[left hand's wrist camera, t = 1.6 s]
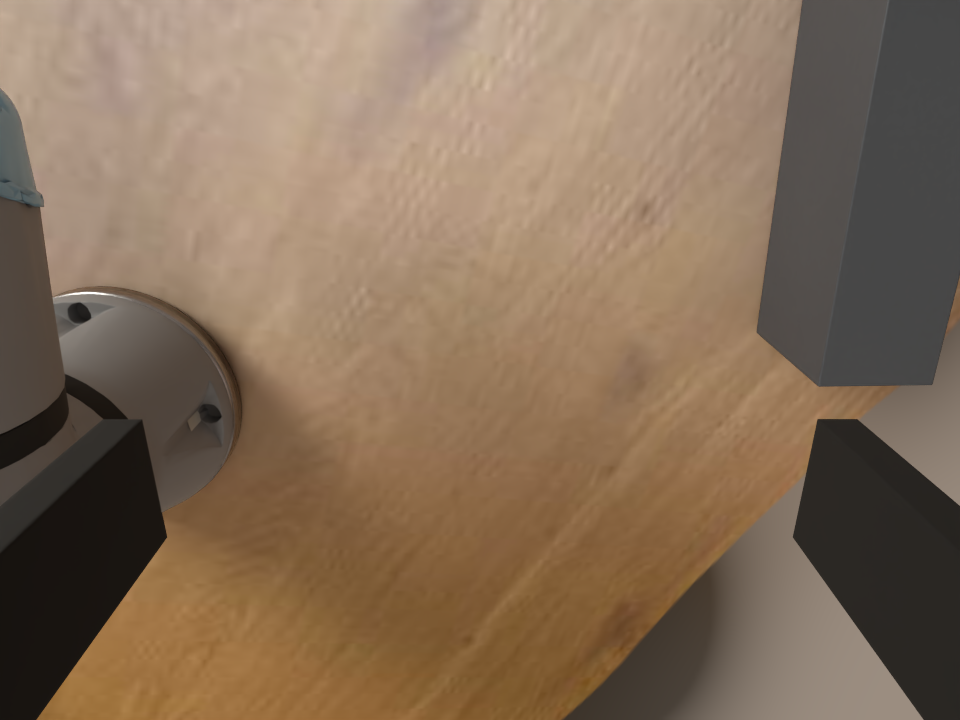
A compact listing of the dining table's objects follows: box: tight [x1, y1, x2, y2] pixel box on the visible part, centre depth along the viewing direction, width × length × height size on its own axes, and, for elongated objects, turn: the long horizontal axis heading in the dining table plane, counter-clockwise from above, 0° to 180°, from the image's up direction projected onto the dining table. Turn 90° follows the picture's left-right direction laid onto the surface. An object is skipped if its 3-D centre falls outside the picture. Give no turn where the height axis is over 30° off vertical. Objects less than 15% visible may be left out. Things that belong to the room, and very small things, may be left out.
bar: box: [757, 0, 960, 386], centre depth 32 cm, size 29×6×8 cm, turn 1°
